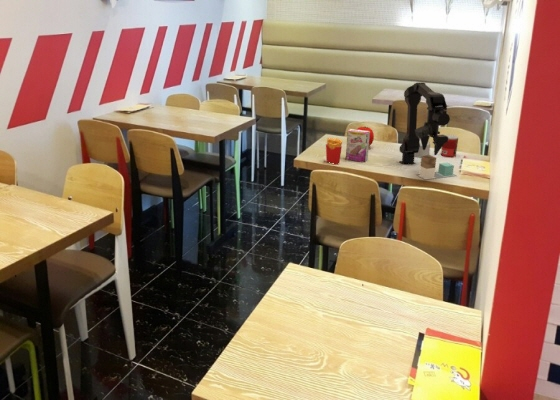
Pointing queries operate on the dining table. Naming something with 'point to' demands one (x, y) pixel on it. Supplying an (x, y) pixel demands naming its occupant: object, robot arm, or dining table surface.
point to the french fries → (333, 150)
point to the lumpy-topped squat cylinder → (423, 152)
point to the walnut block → (428, 161)
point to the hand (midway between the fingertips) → (429, 152)
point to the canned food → (450, 146)
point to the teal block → (446, 169)
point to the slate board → (436, 176)
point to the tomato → (370, 133)
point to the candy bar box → (357, 145)
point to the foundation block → (427, 172)
